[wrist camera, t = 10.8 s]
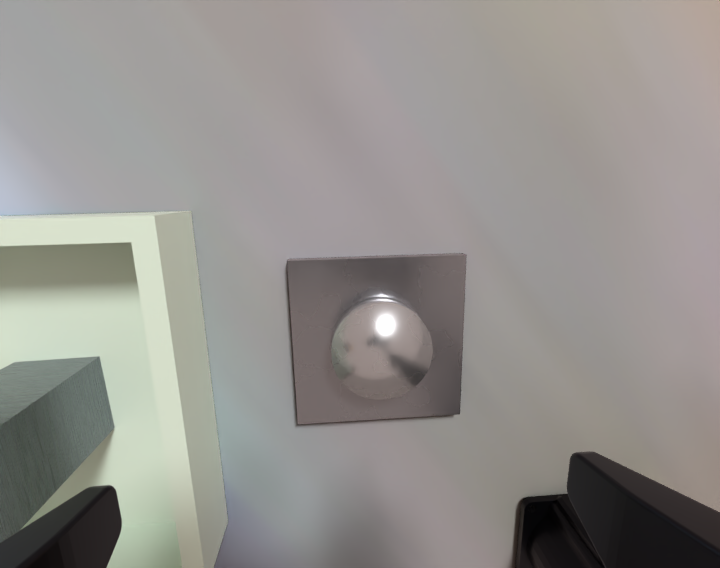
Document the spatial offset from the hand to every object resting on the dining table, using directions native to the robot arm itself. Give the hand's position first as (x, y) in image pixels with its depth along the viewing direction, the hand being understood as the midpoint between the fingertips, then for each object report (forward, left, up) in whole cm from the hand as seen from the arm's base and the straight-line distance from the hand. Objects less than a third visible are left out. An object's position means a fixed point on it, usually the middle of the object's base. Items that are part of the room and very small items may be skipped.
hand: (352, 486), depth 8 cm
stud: (-2, -2, -13) cm, 13 cm away
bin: (-4, +14, -13) cm, 20 cm away
